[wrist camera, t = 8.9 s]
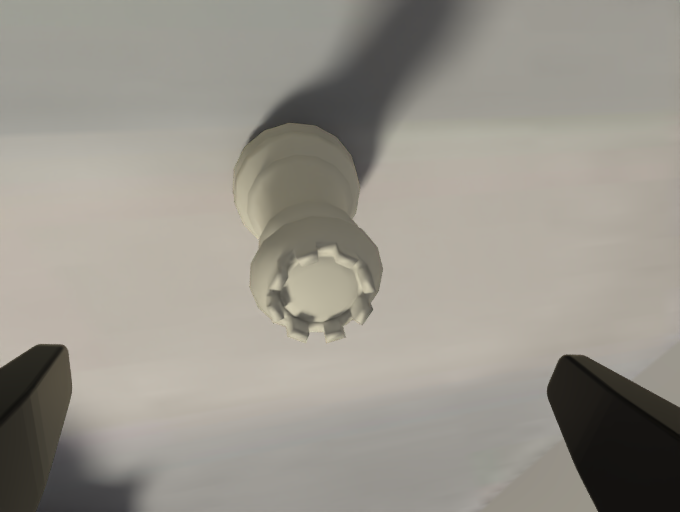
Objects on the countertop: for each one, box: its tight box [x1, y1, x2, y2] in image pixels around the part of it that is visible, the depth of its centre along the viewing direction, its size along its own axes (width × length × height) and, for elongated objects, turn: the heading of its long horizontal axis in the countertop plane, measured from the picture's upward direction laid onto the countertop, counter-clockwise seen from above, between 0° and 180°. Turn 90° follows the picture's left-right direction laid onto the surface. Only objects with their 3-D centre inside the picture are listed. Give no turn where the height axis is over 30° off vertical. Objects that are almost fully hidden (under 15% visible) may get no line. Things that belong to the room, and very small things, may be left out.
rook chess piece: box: [233, 123, 383, 343], centre depth 15 cm, size 4×4×8 cm
